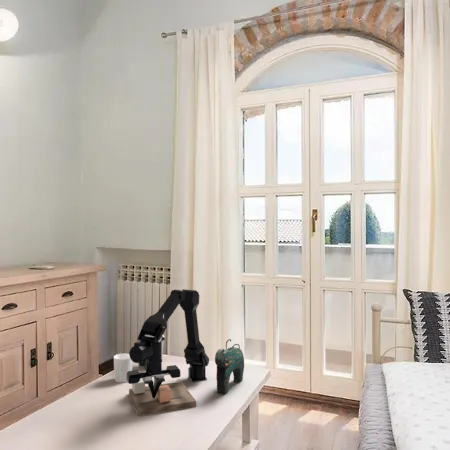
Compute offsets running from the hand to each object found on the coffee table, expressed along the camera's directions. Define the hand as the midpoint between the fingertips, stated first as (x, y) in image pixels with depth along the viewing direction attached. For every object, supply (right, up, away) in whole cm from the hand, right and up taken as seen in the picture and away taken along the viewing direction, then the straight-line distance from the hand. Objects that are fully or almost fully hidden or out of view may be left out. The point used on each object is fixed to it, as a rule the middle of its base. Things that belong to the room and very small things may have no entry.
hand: (153, 397), depth 151 cm
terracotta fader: (+4, -1, +1) cm, 4 cm away
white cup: (-17, -4, +26) cm, 32 cm away
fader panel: (+2, -3, +6) cm, 7 cm away
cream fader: (-7, -1, +9) cm, 11 cm away
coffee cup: (-7, -4, +43) cm, 44 cm away
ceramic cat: (+28, -4, +19) cm, 34 cm away
